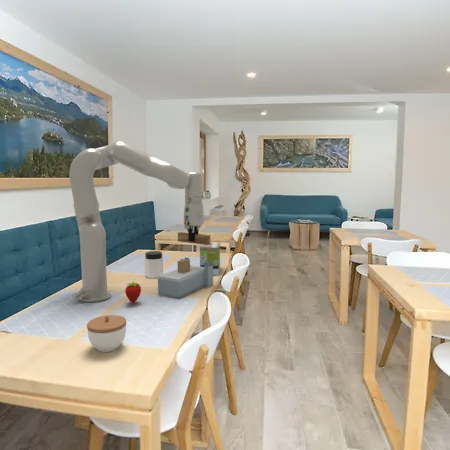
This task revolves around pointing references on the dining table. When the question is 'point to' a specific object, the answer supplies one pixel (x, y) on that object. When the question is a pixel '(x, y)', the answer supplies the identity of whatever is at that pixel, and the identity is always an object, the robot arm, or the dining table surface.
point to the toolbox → (187, 283)
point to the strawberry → (133, 291)
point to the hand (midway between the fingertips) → (193, 240)
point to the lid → (182, 272)
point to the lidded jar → (106, 332)
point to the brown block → (198, 238)
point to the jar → (153, 264)
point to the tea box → (211, 255)
